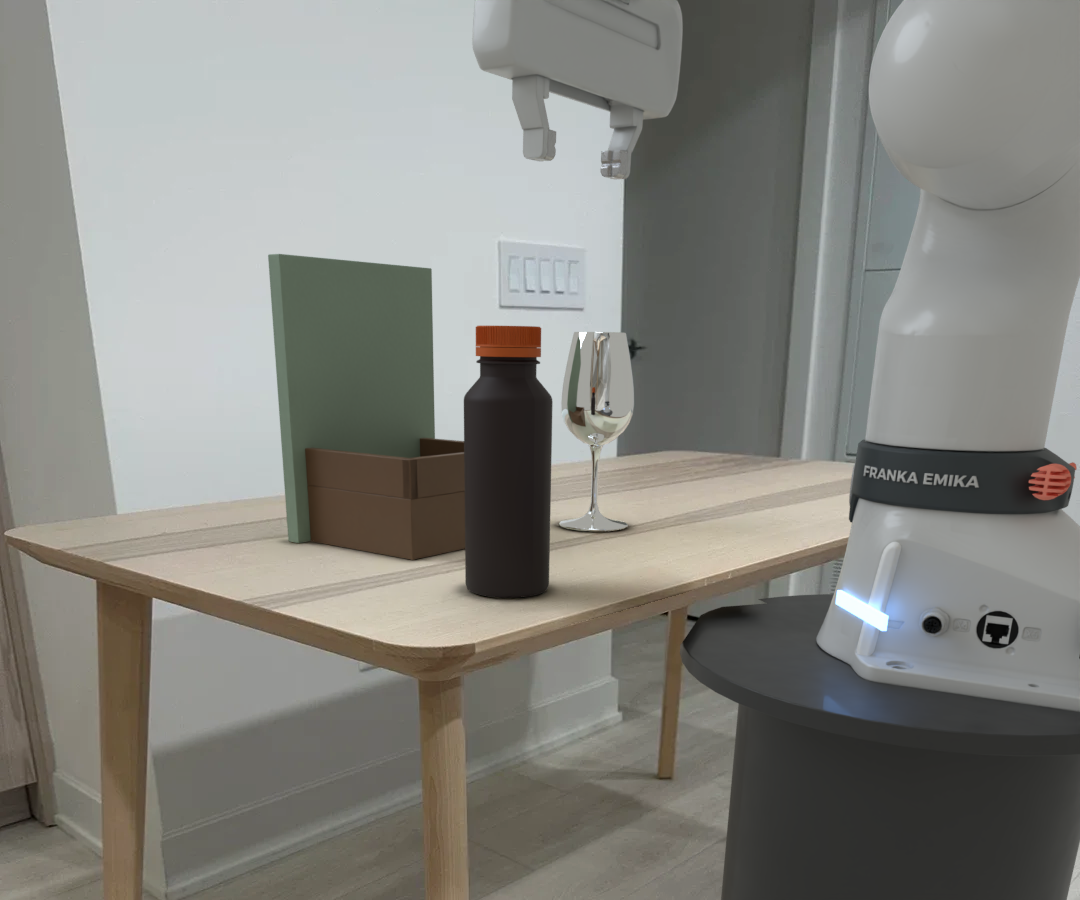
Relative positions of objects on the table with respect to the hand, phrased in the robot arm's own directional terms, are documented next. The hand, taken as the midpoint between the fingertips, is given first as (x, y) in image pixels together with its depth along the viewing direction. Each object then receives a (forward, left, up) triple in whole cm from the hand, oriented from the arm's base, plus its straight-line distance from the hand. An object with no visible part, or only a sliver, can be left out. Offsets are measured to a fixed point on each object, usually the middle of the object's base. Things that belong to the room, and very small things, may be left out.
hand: (578, 169), depth 74 cm
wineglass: (+15, -25, -31) cm, 43 cm away
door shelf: (+24, -7, -31) cm, 40 cm away
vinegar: (+3, +5, -31) cm, 31 cm away
